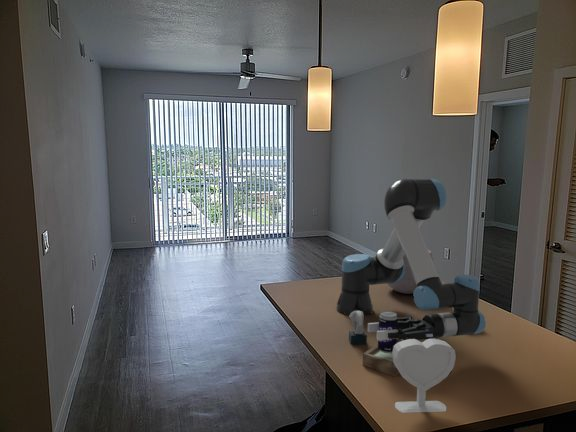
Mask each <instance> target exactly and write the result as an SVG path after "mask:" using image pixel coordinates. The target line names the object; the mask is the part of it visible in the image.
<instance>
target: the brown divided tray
mask: <svg viewBox="0 0 576 432" xmlns="http://www.w3.org/2000/svg"><path fill="white" fill-rule="evenodd" d="M401 341H403V339H401V340H400V339H398V338H397V343H398V342H401ZM362 365H363V366H365V367H368V368H371V369H374V370H376V371H379V372H382V373H384V374H387V375H390V376H393V377H396V375H398V374H400V372H399V371H398V369H397V368H396V366H395V364H394V363H393V355H392V353H384V352H381V351H380V349H379V348H378V343H377V344H376V345H374V346H372V347H371V348H369V349H367V350H366V351H365V352H363V353H362Z"/></svg>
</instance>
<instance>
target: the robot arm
mask: <svg viewBox="0 0 576 432" xmlns="http://www.w3.org/2000/svg"><path fill="white" fill-rule="evenodd" d="M383 200H384V203H383V204H384V210H385V211H384V212H385V215H386V217H387V219H388V221H391V222H392V224H393V230H392V231H391V233H390V235H389V237H388V239H387V242H386V244H385V245H384V247H383V248H380V249H379V250H378V251H377V253H376V255H375V256H374V257H372V256H371V255H368V254H365V253H355V254H350V255H347V256H345V257H344V259H342V265H341V291H340V294H339V297H338V299H337V303H336V310H337V311H338V312H339V313H340V314H344V315H348V316H349V315H350V314H351V313H352V312H353V311H362V312H363V313H364V316H367V315H370V314H371V313H373V306H374V305H373V302H372V299H371V295H370V286H373V285H375V286H377V285H388V284H391V283H395V282H398V281H400V280H401V279H402V278H403V276H404V273H405V271H404V269H405V264H404V260H403V257H404V255H405V256H406V259H407V261H408V264H409V266H410V269H411V271H412V274H413V277H414V279H415V282H416V284H417V288H416V289H415V290H414V293H413V297H414V298H413V302H414V303H415V305H416V307H417V308H418V309H420V310H422V311H429V310H430V311H436V310H440V309H446V308H452V310H453V311H451V312H450V311H448V312H440V313H439V312H438V313H431V314H430V313H429V314H428V313H427V314H425V315H424V316H423V317H422V319H419V318H416V319H413V316H411V315H409V316H405V317H404V316H402V317H397V318H398V324H397V329H393V330H382V331H378V330H379V321H378V322H367V331H366V332H368V333H376V341H377V342H378V340H388V339H397V338H398V339H400V340H401V339H403V340H408V339H416V340H418V341H422V340H427V339H439V338H448V337H456V336H457V337H458V336H471V335H476V334H477V335H478V334H480V333H482V332H484V331H485V329H486V326H487V323H486V322H487V321H486V320H485V319H486V317H485V315H484V314H483V313H482V312H481V311H480V310H479V303H480V302H479V301H480V299H479V298H480V291H481V290H480V288H481V287H480V285H481V284H480V279H479V277H477V276H474V275H470V274H457V275H456V276H455V277H454V281H453V282H451V283H450V282H448V283H442V281H441V278H440V276H439V273H438V271H437V268H436V266H435V264H434V261H432V259H433V258H432V259H431V256H430V254H429V251H428V250H429V249H428V247H427V244H426V242H425V240H424V237H423V234H422V233H421V230H420V228H421V226H422V225H423V222H424V221H427V220H429V219H430V218H431V217H432V215H433V213H434V212H435V211H440V210H442V209H443V208H445V206H446V203H447V193H446V189H445V186H444V184H443V183H442V182H441V181H439V180H438V179H435V178H426V179H425V178H419V179H418V178H416V179H415V178H402V179H399V180H396V181H395V182H393V183H392V184H390V186H389V187H388V189H387V191H386V192H385V195H384V199H383Z"/></svg>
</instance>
